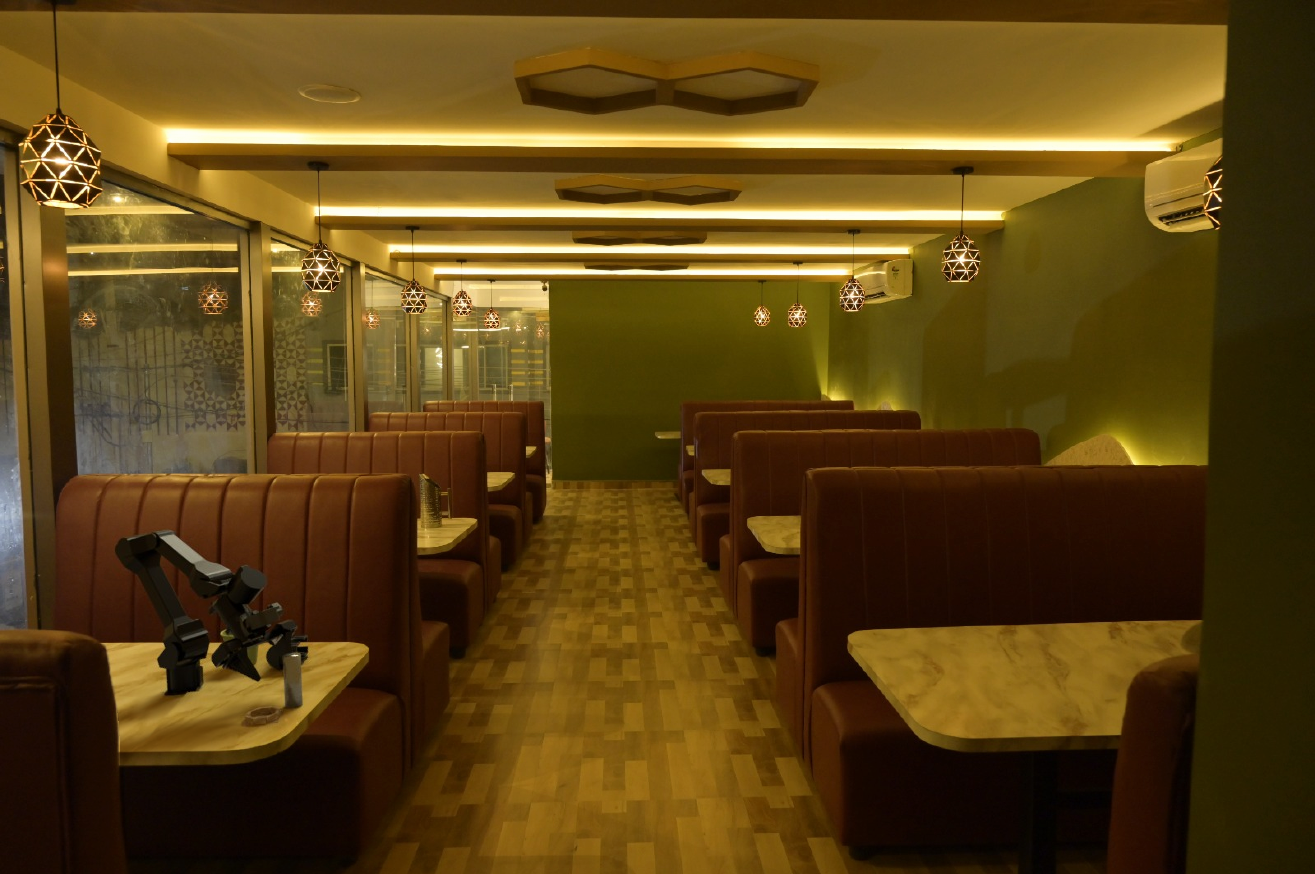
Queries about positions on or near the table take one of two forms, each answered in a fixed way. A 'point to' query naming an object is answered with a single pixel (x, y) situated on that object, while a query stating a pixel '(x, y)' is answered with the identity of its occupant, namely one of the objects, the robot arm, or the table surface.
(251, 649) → the plant pot
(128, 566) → the robot arm
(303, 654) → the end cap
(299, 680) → the peg
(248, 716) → the ring stand
